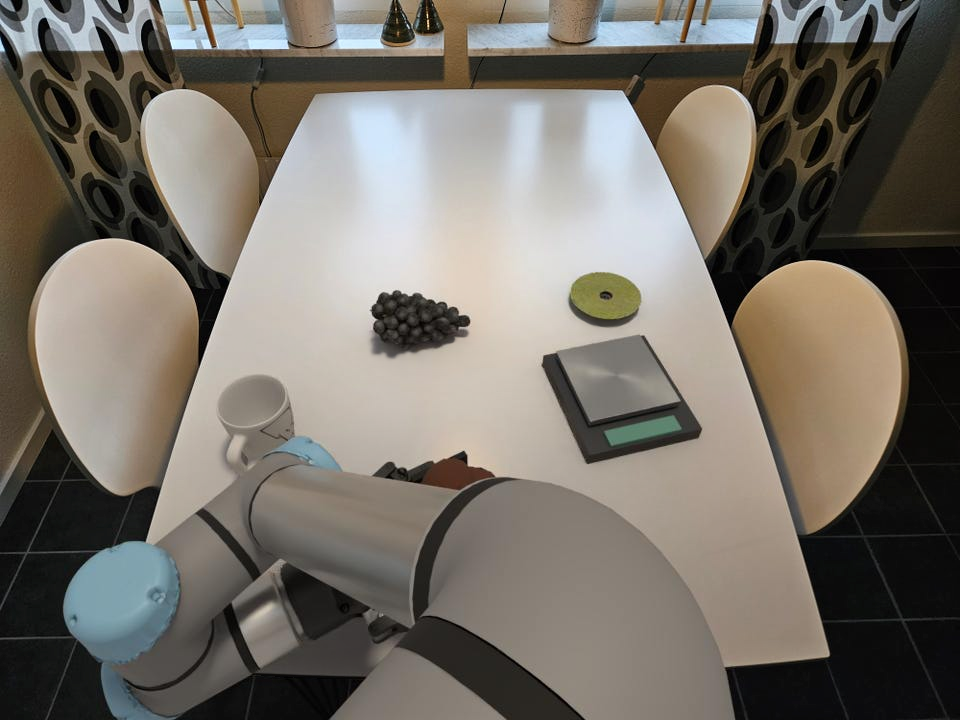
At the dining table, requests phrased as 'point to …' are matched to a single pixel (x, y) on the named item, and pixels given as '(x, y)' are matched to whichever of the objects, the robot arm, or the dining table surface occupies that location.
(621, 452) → the scale
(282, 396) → the mug
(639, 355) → the scale pan
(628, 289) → the mat
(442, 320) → the fruit
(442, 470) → the ice cream bowl
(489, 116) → the dining table surface
